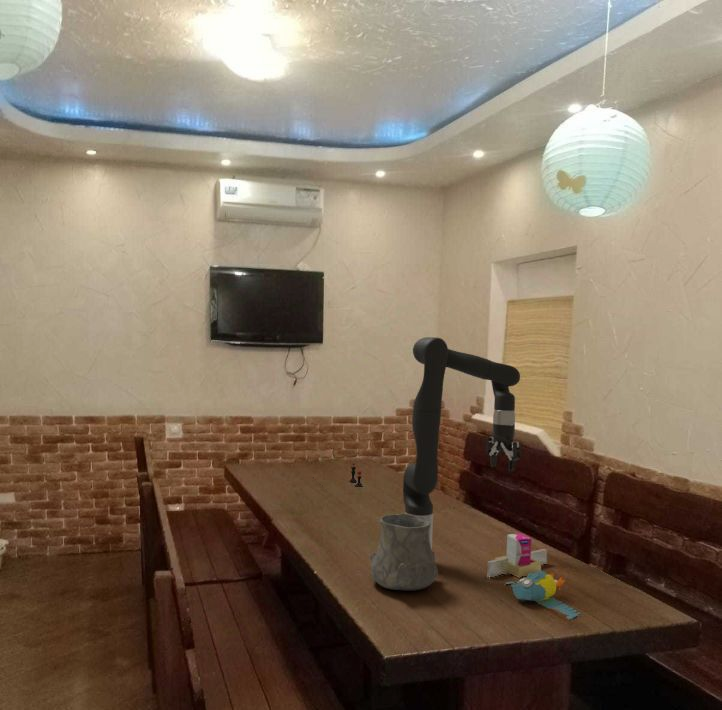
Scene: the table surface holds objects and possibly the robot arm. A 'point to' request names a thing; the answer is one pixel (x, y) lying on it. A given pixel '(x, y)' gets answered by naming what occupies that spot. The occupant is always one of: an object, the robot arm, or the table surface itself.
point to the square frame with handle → (504, 566)
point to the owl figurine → (542, 591)
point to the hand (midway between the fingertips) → (502, 468)
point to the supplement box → (518, 549)
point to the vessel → (404, 553)
